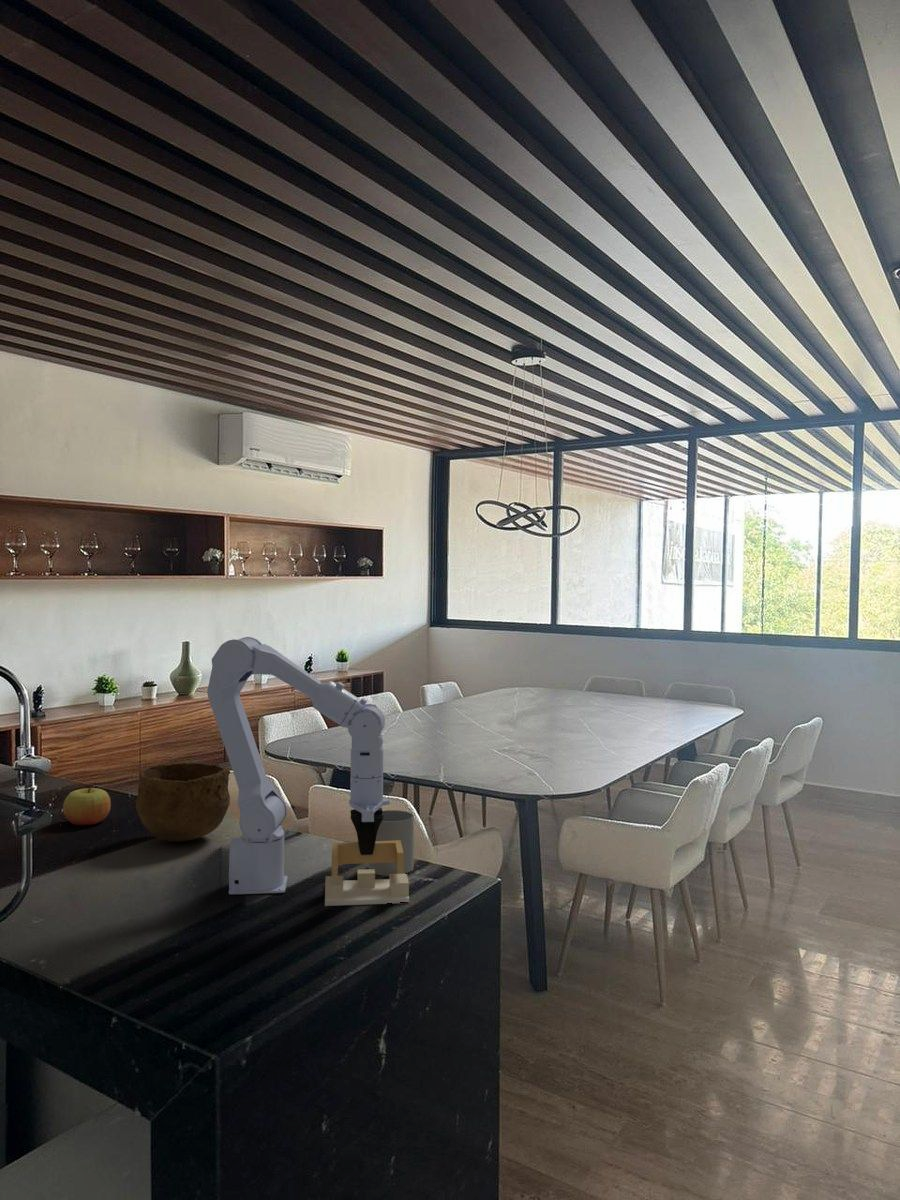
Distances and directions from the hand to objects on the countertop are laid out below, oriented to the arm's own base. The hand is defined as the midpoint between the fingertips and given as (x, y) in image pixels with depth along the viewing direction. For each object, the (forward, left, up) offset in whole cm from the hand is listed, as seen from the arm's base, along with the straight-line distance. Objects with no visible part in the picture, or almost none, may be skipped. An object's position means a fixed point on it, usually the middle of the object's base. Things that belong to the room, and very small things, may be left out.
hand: (366, 852), depth 151 cm
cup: (+5, +11, -7) cm, 14 cm away
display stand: (0, -3, -6) cm, 7 cm away
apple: (-61, +50, -7) cm, 79 cm away
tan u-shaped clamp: (0, -3, -2) cm, 3 cm away
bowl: (-37, +34, -7) cm, 51 cm away
